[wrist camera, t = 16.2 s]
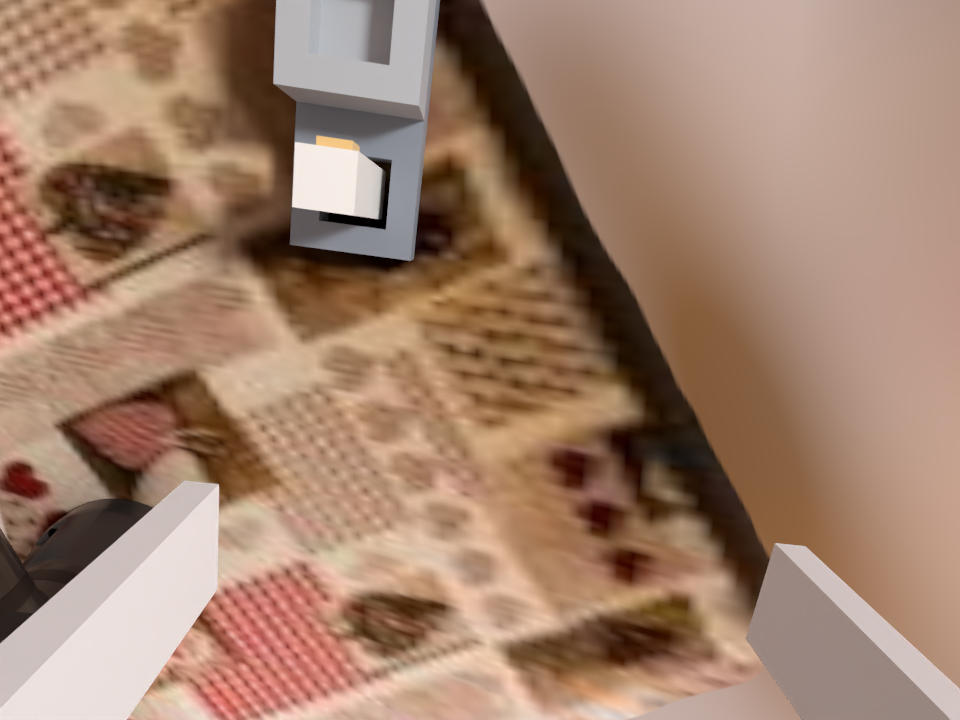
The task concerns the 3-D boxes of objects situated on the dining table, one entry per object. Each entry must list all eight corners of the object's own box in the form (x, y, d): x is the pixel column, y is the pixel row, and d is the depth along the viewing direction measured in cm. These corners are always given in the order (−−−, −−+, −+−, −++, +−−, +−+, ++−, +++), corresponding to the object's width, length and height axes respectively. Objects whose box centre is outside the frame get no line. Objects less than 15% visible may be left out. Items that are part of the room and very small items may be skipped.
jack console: (301, 243, 46) (267, 246, 38) (314, -26, 41) (279, -87, 33) (413, 259, 46) (403, 264, 39) (440, -6, 41) (434, -60, 34)
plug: (336, 213, 45) (291, 207, 34) (340, 155, 44) (295, 128, 33) (382, 219, 46) (353, 215, 34) (387, 162, 44) (359, 137, 33)
